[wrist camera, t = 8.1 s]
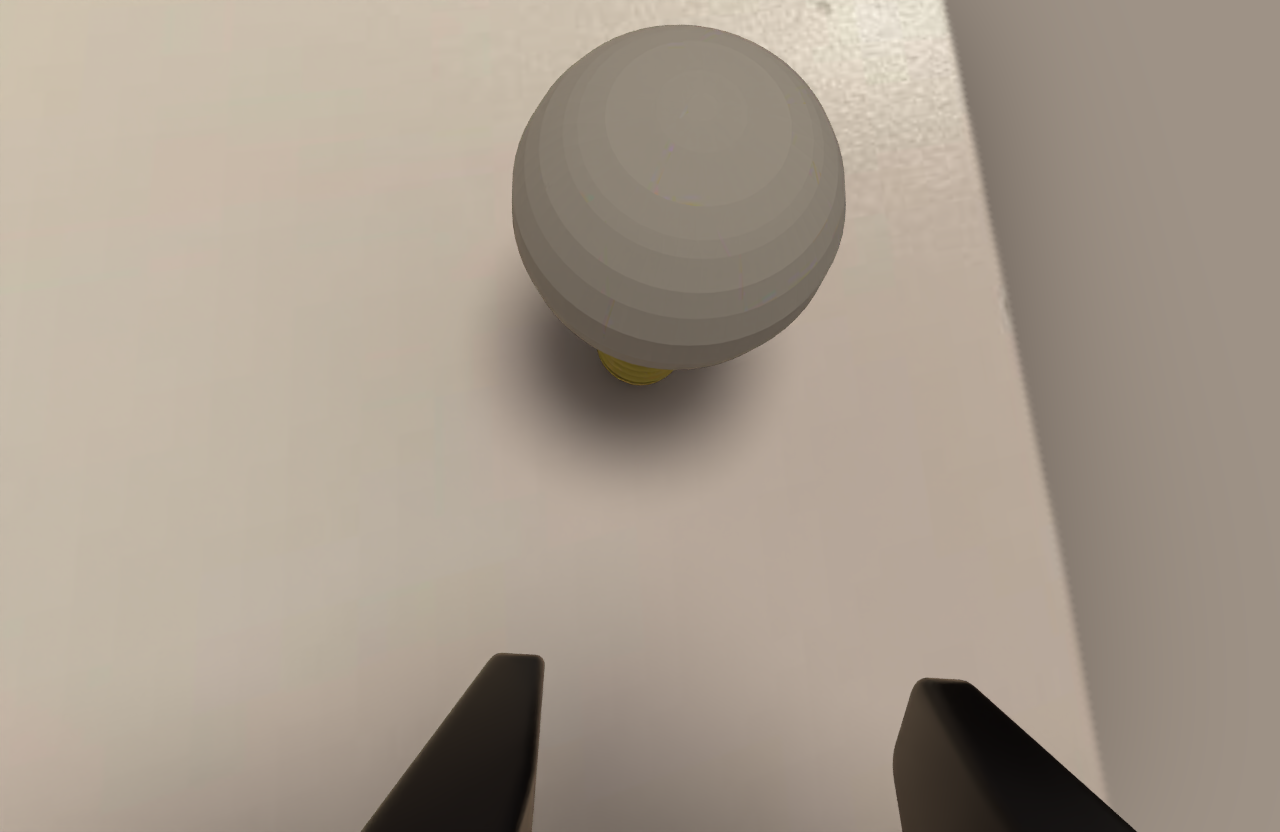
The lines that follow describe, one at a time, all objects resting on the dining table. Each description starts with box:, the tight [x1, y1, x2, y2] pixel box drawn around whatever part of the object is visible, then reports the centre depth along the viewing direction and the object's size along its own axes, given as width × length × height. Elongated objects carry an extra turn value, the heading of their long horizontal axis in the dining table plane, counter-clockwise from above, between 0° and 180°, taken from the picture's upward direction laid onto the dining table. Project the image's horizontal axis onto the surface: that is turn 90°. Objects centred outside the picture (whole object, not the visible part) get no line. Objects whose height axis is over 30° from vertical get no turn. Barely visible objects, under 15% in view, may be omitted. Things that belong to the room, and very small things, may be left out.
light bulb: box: [512, 25, 846, 385], centre depth 19 cm, size 5×6×10 cm
